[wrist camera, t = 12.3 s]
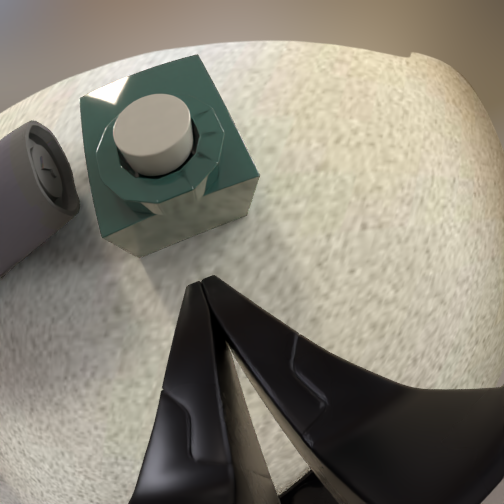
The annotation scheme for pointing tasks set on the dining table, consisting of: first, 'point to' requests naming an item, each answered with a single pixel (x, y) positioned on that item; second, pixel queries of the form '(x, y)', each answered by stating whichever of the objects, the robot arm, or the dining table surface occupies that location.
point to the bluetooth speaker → (32, 192)
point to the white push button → (154, 134)
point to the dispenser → (173, 183)
